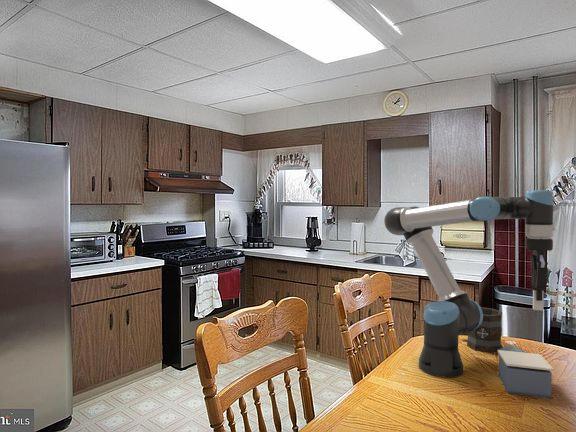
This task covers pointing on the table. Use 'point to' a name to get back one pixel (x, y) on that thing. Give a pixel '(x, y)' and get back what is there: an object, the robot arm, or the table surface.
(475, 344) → the mug
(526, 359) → the lid
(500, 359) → the box
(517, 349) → the packaged food
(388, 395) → the table surface
